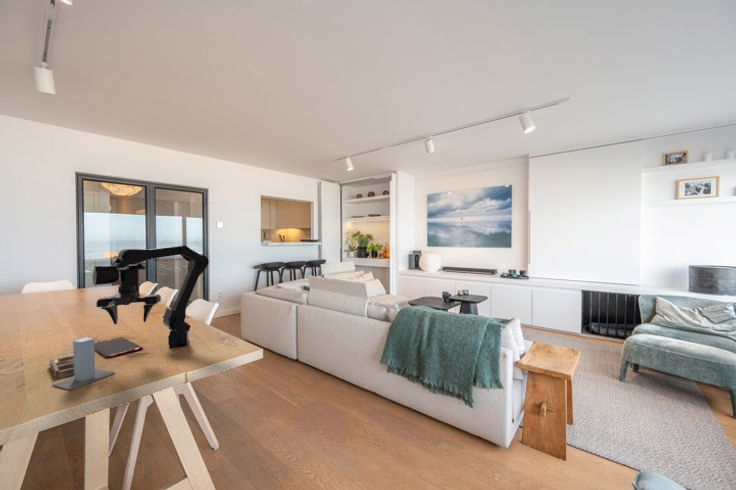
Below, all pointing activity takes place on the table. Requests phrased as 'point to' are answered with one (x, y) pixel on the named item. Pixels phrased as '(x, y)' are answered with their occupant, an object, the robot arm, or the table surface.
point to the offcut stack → (65, 359)
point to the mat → (73, 384)
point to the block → (84, 359)
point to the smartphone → (115, 347)
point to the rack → (61, 369)
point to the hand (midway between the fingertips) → (130, 323)
